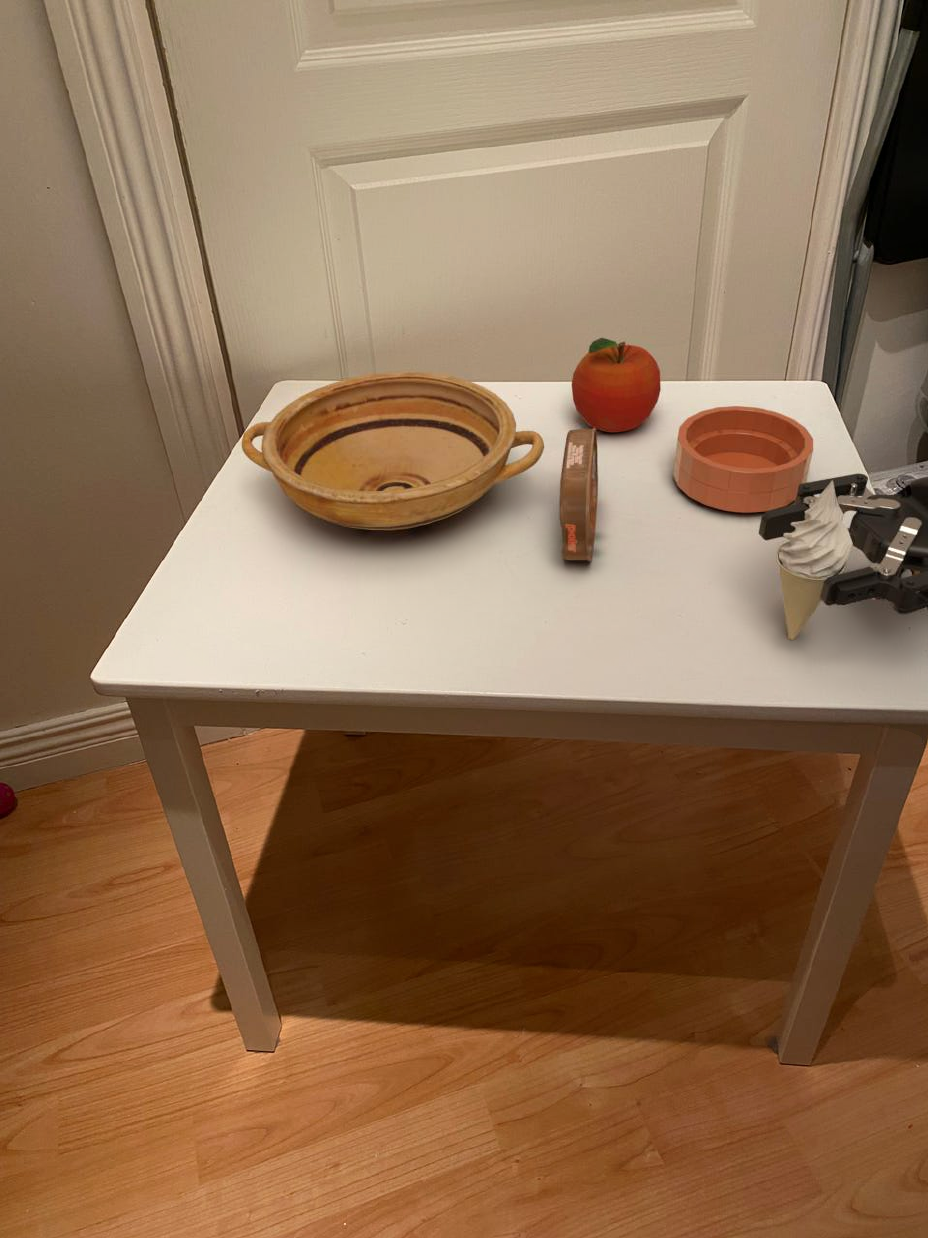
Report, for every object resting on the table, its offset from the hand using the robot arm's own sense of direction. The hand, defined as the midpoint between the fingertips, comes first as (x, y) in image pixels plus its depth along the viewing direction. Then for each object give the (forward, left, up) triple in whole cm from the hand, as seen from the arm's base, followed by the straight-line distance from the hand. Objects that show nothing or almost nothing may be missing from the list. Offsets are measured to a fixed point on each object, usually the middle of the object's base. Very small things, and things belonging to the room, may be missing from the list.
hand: (792, 558), depth 70 cm
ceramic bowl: (+39, -2, -9) cm, 40 cm away
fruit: (+27, -26, -9) cm, 39 cm away
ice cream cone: (-1, -1, -9) cm, 9 cm away
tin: (+21, -6, -9) cm, 23 cm away
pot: (+11, -21, -9) cm, 25 cm away
